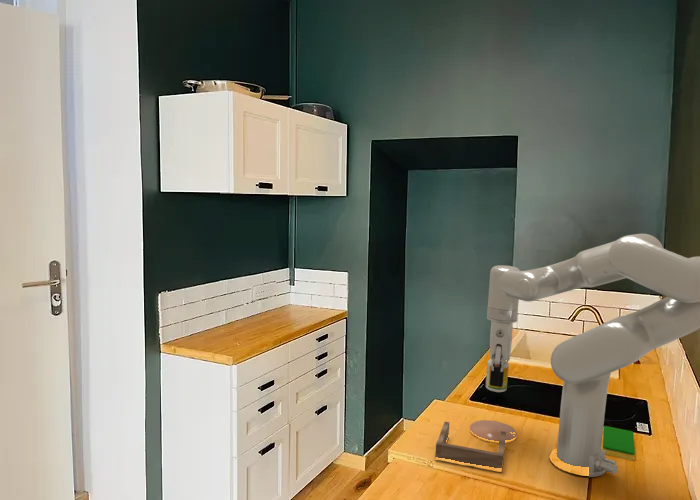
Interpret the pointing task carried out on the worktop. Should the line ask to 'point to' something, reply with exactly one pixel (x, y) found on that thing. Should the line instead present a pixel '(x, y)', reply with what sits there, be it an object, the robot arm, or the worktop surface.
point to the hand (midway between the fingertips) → (496, 381)
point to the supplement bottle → (505, 376)
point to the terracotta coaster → (492, 430)
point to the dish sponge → (618, 443)
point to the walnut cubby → (469, 451)
